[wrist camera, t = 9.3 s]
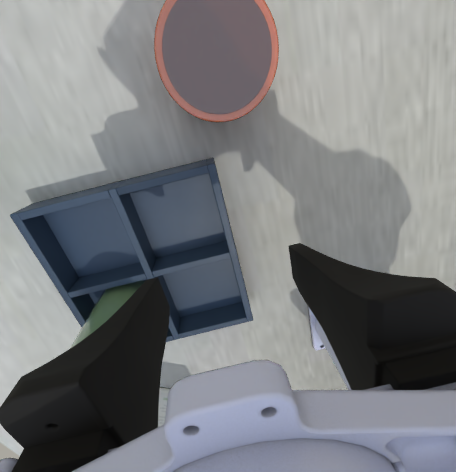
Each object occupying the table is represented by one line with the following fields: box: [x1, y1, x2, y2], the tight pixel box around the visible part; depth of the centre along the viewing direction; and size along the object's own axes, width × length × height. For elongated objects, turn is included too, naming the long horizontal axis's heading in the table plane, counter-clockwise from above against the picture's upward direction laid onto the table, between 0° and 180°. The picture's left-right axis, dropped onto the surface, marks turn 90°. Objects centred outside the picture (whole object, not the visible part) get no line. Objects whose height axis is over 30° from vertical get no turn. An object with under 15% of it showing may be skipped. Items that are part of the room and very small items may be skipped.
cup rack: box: [10, 158, 253, 342], centre depth 23 cm, size 15×15×3 cm
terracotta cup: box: [154, 0, 279, 122], centre depth 15 cm, size 6×6×8 cm
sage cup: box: [70, 280, 144, 349], centre depth 22 cm, size 6×6×8 cm
